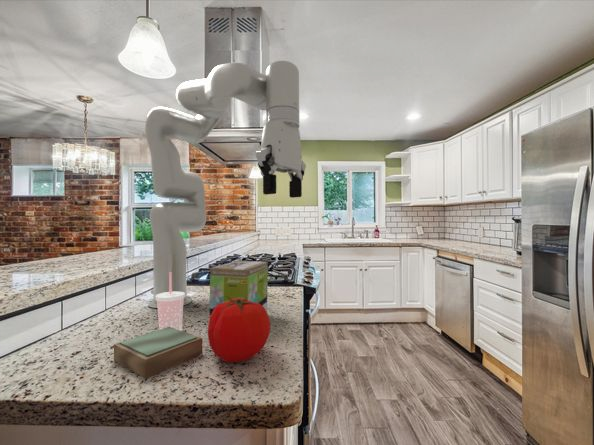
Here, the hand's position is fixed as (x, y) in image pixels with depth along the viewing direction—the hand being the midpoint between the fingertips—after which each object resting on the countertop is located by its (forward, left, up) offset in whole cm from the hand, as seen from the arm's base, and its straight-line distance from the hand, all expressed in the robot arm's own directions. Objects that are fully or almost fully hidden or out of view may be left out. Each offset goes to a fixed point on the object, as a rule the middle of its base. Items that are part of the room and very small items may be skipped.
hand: (283, 195), depth 68 cm
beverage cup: (-21, -15, -31) cm, 41 cm away
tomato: (+1, -15, -31) cm, 35 cm away
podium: (-12, -23, -31) cm, 41 cm away
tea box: (-14, 0, -32) cm, 34 cm away
